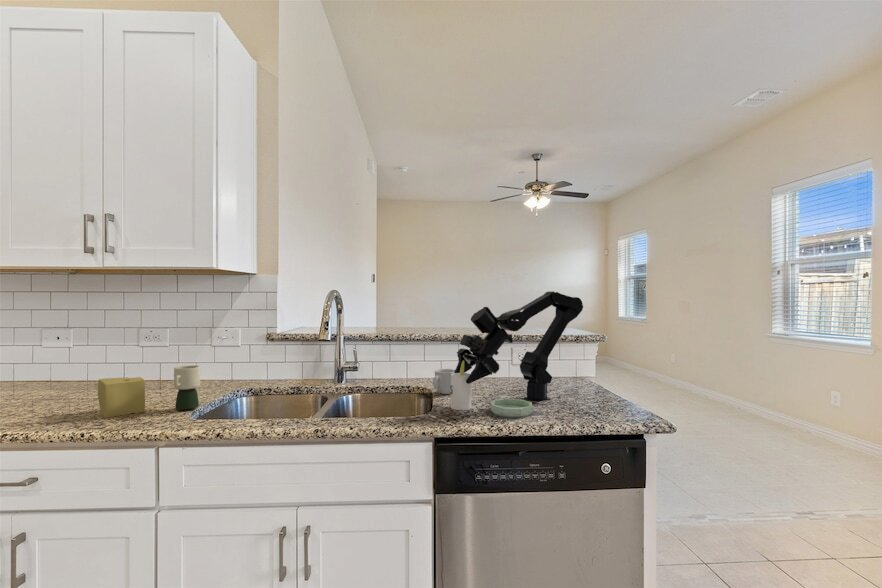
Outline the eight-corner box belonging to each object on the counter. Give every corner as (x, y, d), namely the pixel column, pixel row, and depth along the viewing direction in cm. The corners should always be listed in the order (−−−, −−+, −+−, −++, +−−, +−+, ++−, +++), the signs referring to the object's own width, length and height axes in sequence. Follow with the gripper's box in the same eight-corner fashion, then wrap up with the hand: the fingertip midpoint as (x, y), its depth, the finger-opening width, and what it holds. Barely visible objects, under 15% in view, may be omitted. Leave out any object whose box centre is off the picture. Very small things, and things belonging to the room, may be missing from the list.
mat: (511, 405, 141) (511, 404, 141) (543, 414, 130) (543, 413, 130) (480, 411, 133) (480, 410, 133) (511, 421, 123) (511, 420, 123)
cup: (443, 398, 151) (443, 374, 151) (425, 394, 156) (425, 372, 156) (461, 392, 160) (461, 370, 160) (443, 389, 165) (443, 368, 165)
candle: (447, 407, 139) (447, 359, 139) (466, 405, 141) (466, 358, 141) (454, 412, 133) (454, 362, 133) (474, 410, 135) (474, 361, 135)
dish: (511, 404, 140) (511, 396, 140) (540, 413, 130) (540, 404, 130) (483, 410, 133) (482, 402, 133) (511, 419, 123) (511, 410, 123)
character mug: (187, 404, 142) (187, 364, 142) (208, 405, 141) (208, 364, 141) (163, 413, 131) (163, 369, 131) (186, 414, 130) (186, 370, 130)
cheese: (138, 406, 140) (138, 374, 140) (146, 412, 132) (146, 379, 132) (97, 412, 133) (97, 379, 133) (103, 419, 125) (103, 384, 125)
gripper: (462, 324, 148) (431, 358, 143) (491, 327, 131) (456, 367, 126) (483, 347, 151) (453, 381, 146) (513, 353, 134) (480, 392, 129)
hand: (460, 380), depth 137 cm, fingers open, 9 cm apart
